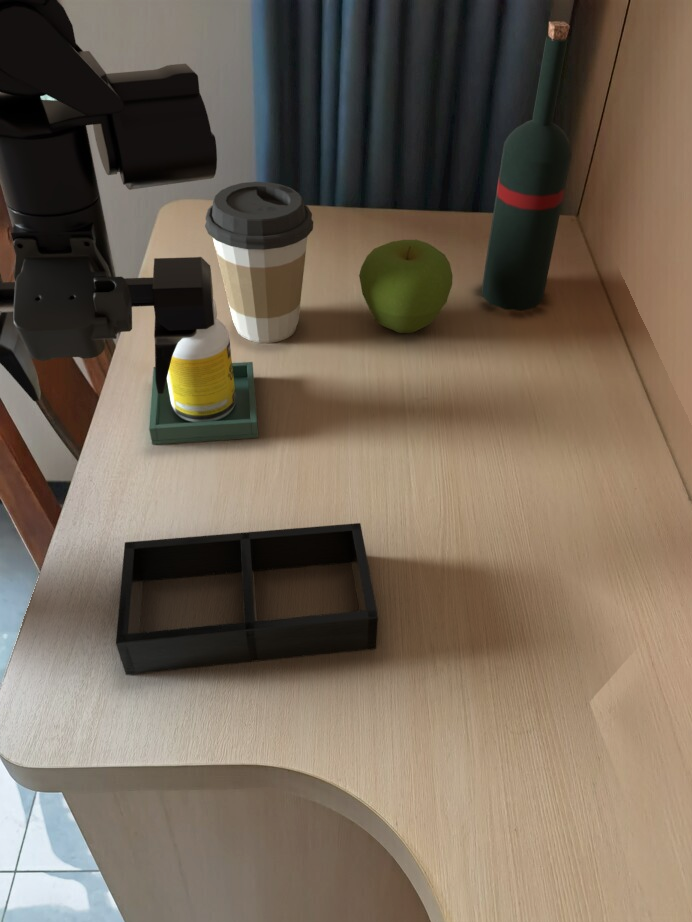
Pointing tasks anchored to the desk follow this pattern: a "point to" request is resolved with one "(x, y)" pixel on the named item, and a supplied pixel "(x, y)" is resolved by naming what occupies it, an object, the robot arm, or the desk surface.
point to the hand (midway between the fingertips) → (100, 394)
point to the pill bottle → (202, 375)
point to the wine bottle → (529, 193)
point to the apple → (405, 284)
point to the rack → (250, 635)
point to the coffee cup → (261, 256)
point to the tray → (232, 426)
